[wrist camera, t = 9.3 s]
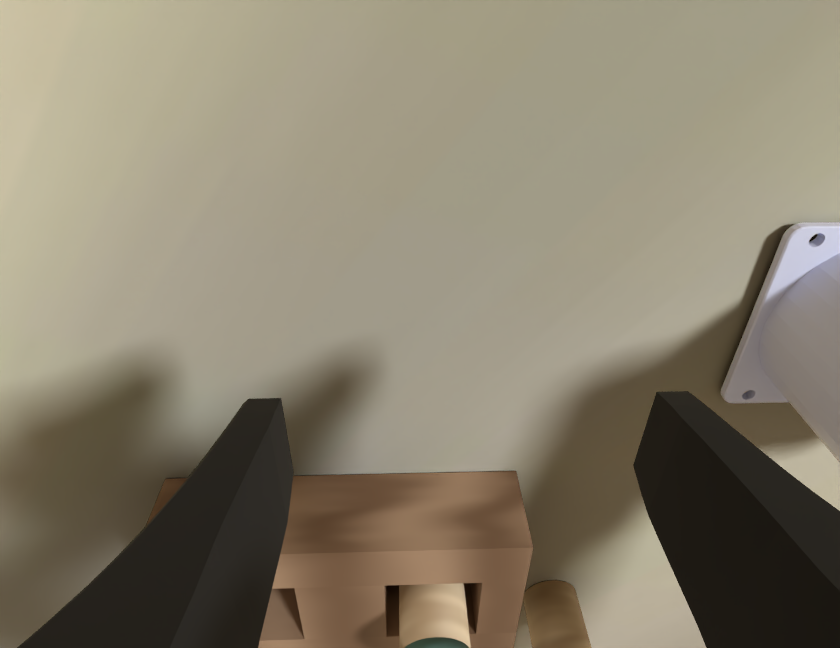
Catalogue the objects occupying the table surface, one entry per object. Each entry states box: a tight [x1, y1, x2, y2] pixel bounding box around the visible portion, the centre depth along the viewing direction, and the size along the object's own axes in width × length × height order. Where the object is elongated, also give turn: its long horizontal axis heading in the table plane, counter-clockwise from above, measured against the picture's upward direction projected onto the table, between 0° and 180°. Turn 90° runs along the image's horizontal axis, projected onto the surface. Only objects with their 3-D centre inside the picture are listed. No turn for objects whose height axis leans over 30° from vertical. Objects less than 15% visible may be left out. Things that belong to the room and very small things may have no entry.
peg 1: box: [399, 583, 471, 648], centre depth 26 cm, size 3×3×7 cm
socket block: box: [146, 471, 533, 648], centre depth 27 cm, size 16×9×4 cm, turn 89°
